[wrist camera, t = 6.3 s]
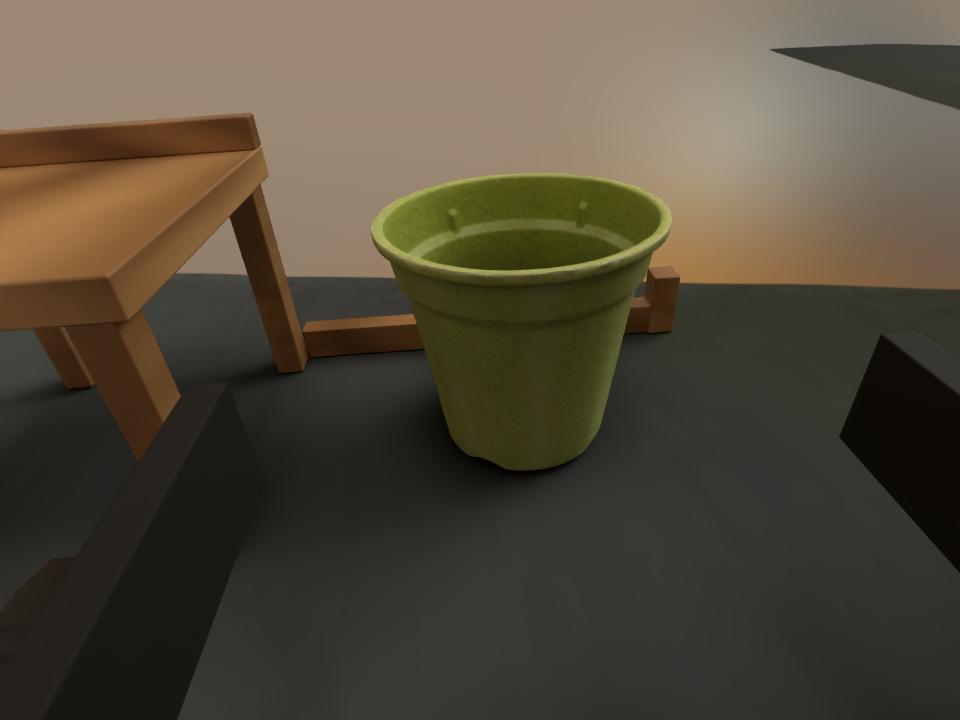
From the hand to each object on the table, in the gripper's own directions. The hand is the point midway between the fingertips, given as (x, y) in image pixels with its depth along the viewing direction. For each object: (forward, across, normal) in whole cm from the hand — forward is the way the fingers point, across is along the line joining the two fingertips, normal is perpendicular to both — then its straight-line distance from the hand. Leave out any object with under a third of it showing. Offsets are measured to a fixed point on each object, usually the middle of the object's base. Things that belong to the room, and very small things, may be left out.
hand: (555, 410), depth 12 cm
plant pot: (+8, 0, -7) cm, 11 cm away
